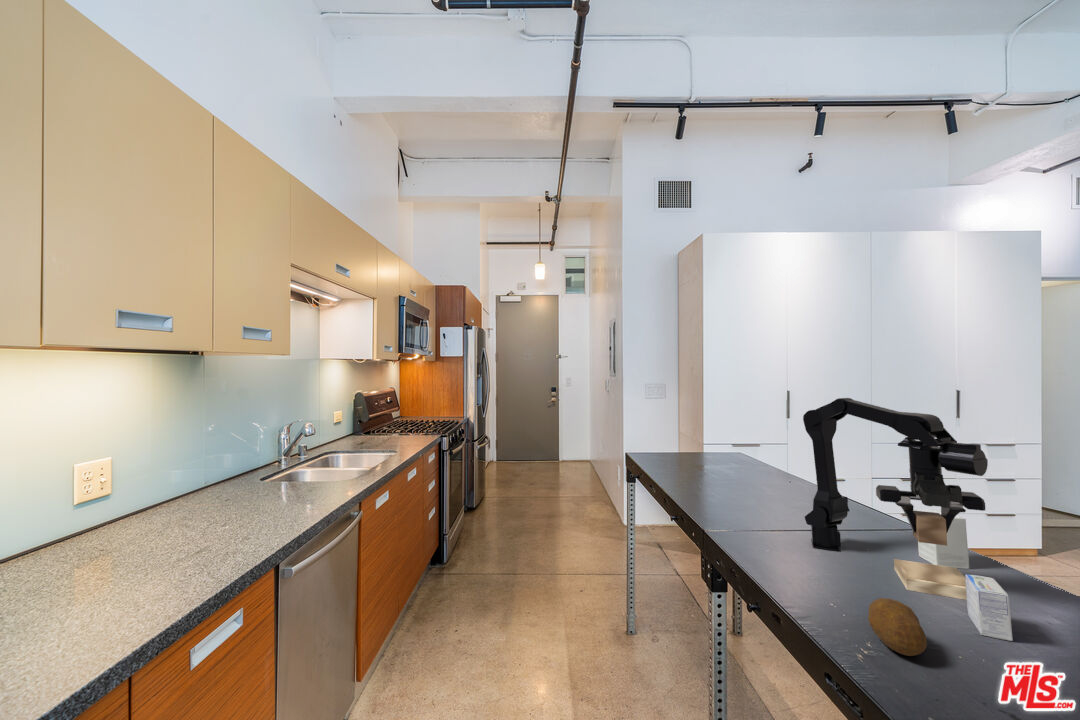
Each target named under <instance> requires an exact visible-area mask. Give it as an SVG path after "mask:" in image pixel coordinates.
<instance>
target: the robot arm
mask: <svg viewBox="0 0 1080 720" xmlns="http://www.w3.org/2000/svg"><path fill="white" fill-rule="evenodd" d="M847 415H849V416H853V417H856V418H860V419H863V420H866V421H870V422H874V423H877V424H881V425H884V426H887V427H889V428H891V429H893V430H894V431H896V432H897V433H899V434H900V435H903V436H905V437H904V439H903V440H902V441H899V442H898V443H897V446H898V447H903V448H908V461H909V477H910V479H909V481H910V490H900V489H899V488H898V487H897V486H894V485H886V484H885V485H883V484H878V485H877V486H876V487H875V496H876V497H877V498H878V499H879V501H881V502H885V503H886V502H887V503H894V504H895V505H897V506H898V507H901V509H902V511H903V512H904V514H905V516H906V518H907V521H908V524H909V525H910V526H911V530H912V532H913V531H914V532H916V523H915V517H914V512H913V511H914V507H915V506H914V504H913V503H911V500H914V501H921V504H922V505H924V506H927V507H940V510H941V516H943V517H944V518H945V519H946V532H948V530H949V528H950V525H951V523H952V521H953V519H954V518H955V516H956V515H957V516H958V515H959V514H960V513H966V509H967V510H972V511H986V502H985V500H984V499H983V498H982V497H981V496H979V495H978V494H976V493H975V492H973V491H972V492H971V491H962V488H961V486H960V485H958V484H956V485H955V484H947V485H946V483H945V480H944V475H943V473H942V470H943V469H942V468H944V469H945V471H947V472H953V473H957V474H958V473H960V474H966V475H971V476H972V475H973V476H980V477H983V476H984V475H985V474H986V472H987V470H988V466H989V465H988V463H989V462H988V458H987V457H986V454H985V452H984V451H983V450H982V448H981V447H982V446H981V445H982V444H979V443H962V442H958V441H957V440H956V439H955V438H954V436H953V435H951V434H950V432H949V431H948V430H947V429H946V428H945V427H944V423H943V422H942V420H941V419H940V417H938V416H937V415H934V414H928V413H922V412H921V413H919V412H907V411H904V412H903V411H899V410H898V411H897V410H893V409H889V408H886V407H881V406H878V405H875V404H871V403H867V402H864V401H859V400H855V399H852V398H850V397H841V398H840V397H838V398H835V400H833V401H831V402H829V403H828V404H824V405H823V406H820V407H818V408H816V409H810V410H808V411H806V412H805V413H804V414H803V416H802V420H803V425H804V429H805V431H806V433H807V435H808V436H809V437H810V439H811V440H812V441H811V442H812V448H813V457H814V468H815V477H816V487H817V489H816V492H815V495H814V497H813V499H812V502H813V503H812V510H811V511H810V512H808V513H807V514H806V515H804V520H805V523H806V525H809V526H810V528H811V529H810V530H811V540H810V541H811V547H812V548H815V549H820V550H821V549H822V550H828V551H834V552H835V551H837V552H841V547H842V544H841V543H842V542H841V541H842V540H841V531H840V530H839V529H838V526H840V525H842V524H843V521H844V520H845V518H847V517H848V513H849V512H850V508H849V504H848V502H849V499H848V497H847V496H843V495H842V494H841V493H840V491H839V488H838V481H837V480H838V479H837V472H836V463H835V456H834V454H835V453H834V446H833V439H834V436H835V434H836V432H837V425H838V423H837V422H838V421H840V420H842V419H844V418H845V417H846V416H847ZM965 508H966V509H965Z"/></svg>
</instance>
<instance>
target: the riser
mask: <svg viewBox="0 0 1080 720" xmlns="http://www.w3.org/2000/svg"><path fill="white" fill-rule="evenodd" d="M893 565H894V566H893V568H894V571H895V572H896V575H898V577H899V579H900V581H901V582H902V584H903V586H904V587H905V589H906V591H912V592H918V593H923V594H930V595H935V596H936V595H937V596H941V597H942V596H943V597H948V598H952V599H953V598H955V599H960V600H965V601H967V594H966V582H965V575H964V573H962V572H961V571H960V570H959V568H954V567H947V566H940V565H933V564H931V563H927V562H925V563H924V562H917V561H911V560H905V559H904V560H903V559H896V558H893Z"/></svg>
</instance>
